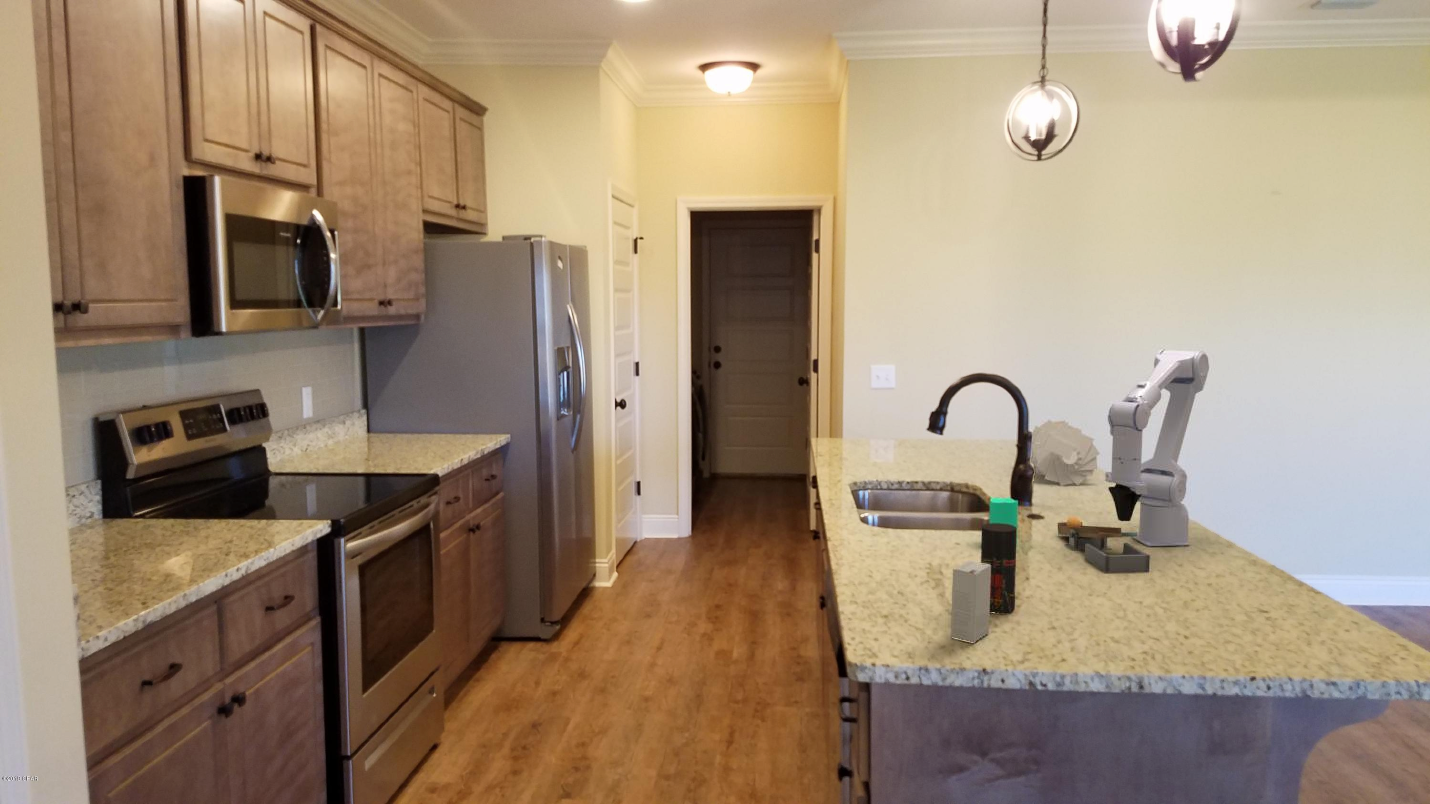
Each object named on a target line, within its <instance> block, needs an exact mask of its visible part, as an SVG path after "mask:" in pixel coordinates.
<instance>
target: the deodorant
mask: <svg viewBox="0 0 1430 804" xmlns="http://www.w3.org/2000/svg"><path fill="white" fill-rule="evenodd" d="M1016 536H1017V537H1018V527H1017V528H1016V527H1015V526H1013V525H1009V524H1002V523H989V522H988V523H985V524H982V525H981V545H980V547H981V549H980V550H981V553H980V563H985V564H990V565H991V582H990V612H995V613H1010V614H1012V613H1011V612H1013V611H1014V610H1016V580H1017V579H1016V578H1017V577H1016V576H1017V574H1016V570H1017V547H1016ZM1014 612H1015V611H1014ZM1014 612H1013V613H1014Z"/></svg>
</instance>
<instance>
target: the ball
mask: <svg viewBox="0 0 1430 804" xmlns="http://www.w3.org/2000/svg"><path fill="white" fill-rule="evenodd" d="M1081 522H1082V521H1081V520H1080V519H1079V518H1077V517H1075V516H1073V517H1069V518H1068V519H1067V521H1066V526H1069V527H1081Z"/></svg>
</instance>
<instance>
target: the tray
mask: <svg viewBox="0 0 1430 804" xmlns="http://www.w3.org/2000/svg"><path fill="white" fill-rule="evenodd" d="M1122 550H1123V551H1122V554H1112V555H1108V554H1106V553H1105V552H1104V551H1103V550H1098V549H1097V548H1095V547H1093V546H1092V545H1090V544H1085V550H1084V559H1085V560H1086V561H1087V562H1089V563H1090V564H1092V565H1094V567H1096V568H1098V569H1099V570H1100V571H1102V572H1104V573H1137V572H1139V573H1140V572H1142V573H1143V572H1147V573H1148V572H1150V562H1151V561H1150V560H1151V555H1149V554H1147V553H1146V552H1144V551H1143V550H1141V549H1139V548H1137V547H1135V546H1134V545H1132V544H1130V543H1128V542H1123V543H1122Z"/></svg>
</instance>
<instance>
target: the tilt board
mask: <svg viewBox="0 0 1430 804" xmlns="http://www.w3.org/2000/svg"><path fill="white" fill-rule="evenodd" d="M1066 522H1067V521H1066ZM1066 522H1063V521H1062V522H1057V534H1058V535H1059V536H1067V537H1069V532H1070V530H1074V531H1076V532H1077V537H1090V538H1107V539H1108V538H1109V539H1113V538H1115V539H1116V538H1118V539H1119V538H1126V537H1127V538H1132V537H1137V536H1138V535H1139V534H1138V532H1132V531H1130V532H1129V531H1125V532H1123V531H1122V527H1114V526H1113V527H1111V526H1110V527H1109V526H1098V525H1096V526H1094V525H1092V526H1091V525H1083V522H1082V521H1080V522H1081V527H1069V526H1066Z"/></svg>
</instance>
